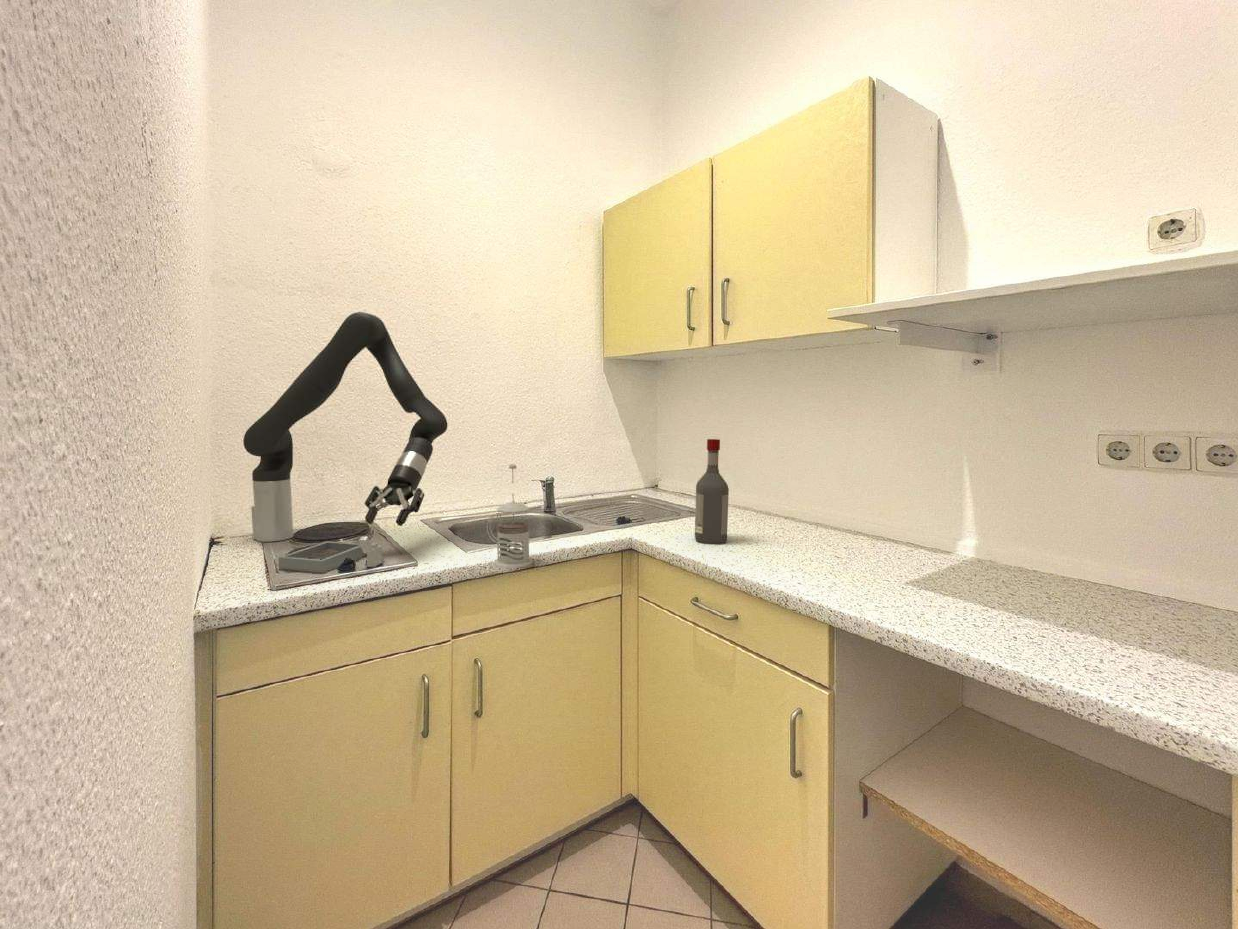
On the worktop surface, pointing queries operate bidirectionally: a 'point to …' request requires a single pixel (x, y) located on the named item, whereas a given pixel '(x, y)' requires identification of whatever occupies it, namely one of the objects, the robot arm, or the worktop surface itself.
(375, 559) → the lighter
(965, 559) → the worktop surface
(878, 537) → the worktop surface
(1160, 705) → the worktop surface
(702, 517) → the liquor
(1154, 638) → the worktop surface
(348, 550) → the tray
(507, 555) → the french press
